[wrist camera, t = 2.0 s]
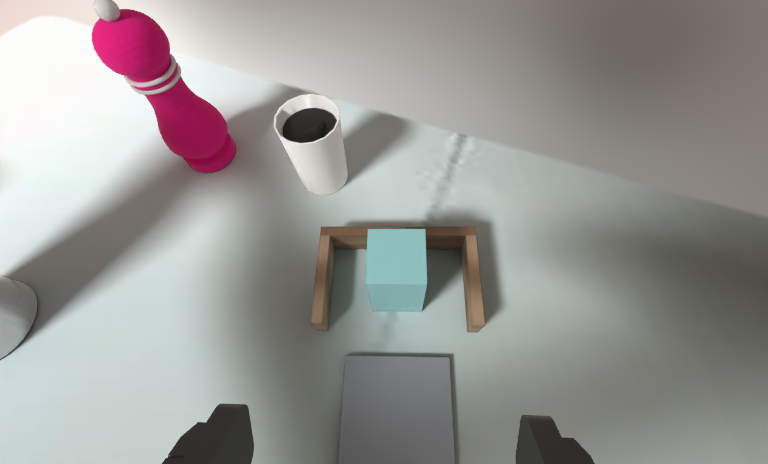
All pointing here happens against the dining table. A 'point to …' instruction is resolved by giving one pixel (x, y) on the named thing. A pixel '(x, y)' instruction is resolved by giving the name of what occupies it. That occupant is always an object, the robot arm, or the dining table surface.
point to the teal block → (396, 269)
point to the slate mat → (396, 411)
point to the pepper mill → (162, 86)
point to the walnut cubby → (434, 240)
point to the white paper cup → (314, 142)
